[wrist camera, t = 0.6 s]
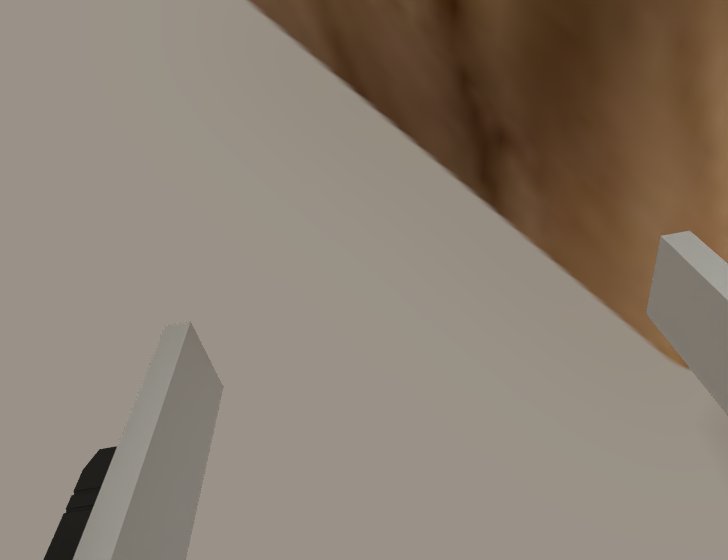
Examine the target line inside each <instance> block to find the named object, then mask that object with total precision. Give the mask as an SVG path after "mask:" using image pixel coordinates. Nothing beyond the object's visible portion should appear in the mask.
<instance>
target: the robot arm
mask: <svg viewBox="0 0 728 560" xmlns="http://www.w3.org/2000/svg"><path fill="white" fill-rule="evenodd" d="M646 314H647V315H648V317H649V318H650V319H651V320H652V322H653V323H654V324H655V325H656V326H657V328H658V329H659V330H660V331H661V333H662V334H663V335H664V336H665V338H666V339H667V340H668V341H669V343H670V344H671V345H672V346H673V348H674V349H675V350H676V351H677V353H678V354H679V355H680V356H681V358H682V359H683V360H684V361H685V363H686V364H687V365H688V366H689V368H690V369H691V370H692V371H693V373H694V374H695V375H696V376H697V377H698V379H699V380H700V381H701V382H702V384H703V385H704V386H705V388H706V389H707V390H708V391H709V393H710V394H711V395H712V396H713V398H714V399H715V400H716V401H717V403H718V404H719V405H720V406H721V408H722V409H723V410H724V411H725V413H726V414H727V415H728V264H727V263H726V262H725V261H724V260H723V259H722V258H721V257H719V256H718V255H717V254H716V253H715V252H714V251H713V250H711V249H710V248H709V247H708V246H707V245H706V244H704V243H703V242H702V241H701V240H700V239H699V238H698V237H696V236H695V235H694V234H693V233H692V232H691V231H686V232H680V233H675V234H669V235H664V236H661V238H660V243H659V248H658V254H657V259H656V264H655V269H654V275H653V280H652V285H651V291H650V296H649V301H648V306H647V312H646ZM222 391H223V385H222V383H221V381H220V379H219V377H218V375H217V373H216V371H215V369H214V367H213V365H212V363H211V361H210V359H209V357H208V355H207V353H206V351H205V349H204V347H203V345H202V343H201V341H200V339H199V338H198V335H197V333H196V332H195V329H194V327H193V325H192V323H191V322H185V323H179V324H174V325H169V326H164V329H163V331H162V334H161V336H160V339H159V342H158V344H157V347H156V349H155V352H154V354H153V357H152V360H151V362H150V364H149V367H148V369H147V372H146V375H145V377H144V380H143V382H142V385H141V387H140V390H139V392H138V395H137V397H136V400H135V403H134V405H133V408H132V410H131V413H130V415H129V418H128V420H127V423H126V425H125V428H124V430H123V433H122V436H121V438H120V441H119V443H118V446H117V447H111V448H105V449H100V450H99V451H98V452H97V453H96V454H95V456H94V457H93V458H92V459H91V461H90V462H89V463H88V464H87V465H86V467H85V468H84V469H83V471H82V473H81V475H80V478H79V480H78V482H77V485H76V487H75V489H74V495H72V496H71V498H70V501H69V503H68V505H67V507H66V513H64V514H63V517H62V519H61V521H60V523H59V526H58V528H57V530H56V533H55V535H54V537H53V539H52V542H51V544H50V546H49V548H48V551H47V553H46V555H45V558H44V560H186V556H187V552H188V547H189V542H190V537H191V533H192V529H193V524H194V520H195V515H196V510H197V506H198V501H199V497H200V492H201V488H202V483H203V478H204V474H205V469H206V465H207V460H208V455H209V451H210V446H211V442H212V437H213V433H214V428H215V423H216V419H217V414H218V410H219V405H220V400H221V396H222Z"/></svg>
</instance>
